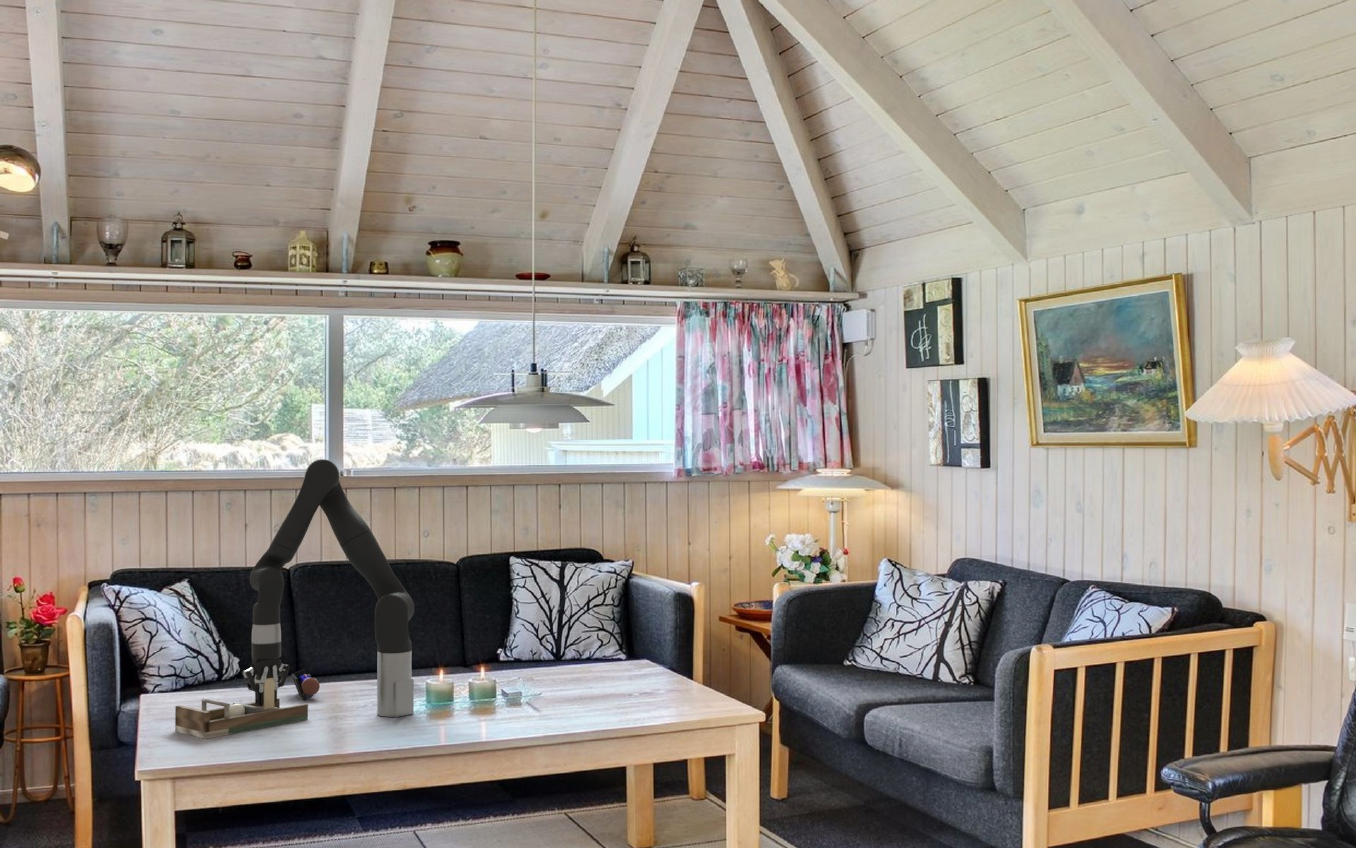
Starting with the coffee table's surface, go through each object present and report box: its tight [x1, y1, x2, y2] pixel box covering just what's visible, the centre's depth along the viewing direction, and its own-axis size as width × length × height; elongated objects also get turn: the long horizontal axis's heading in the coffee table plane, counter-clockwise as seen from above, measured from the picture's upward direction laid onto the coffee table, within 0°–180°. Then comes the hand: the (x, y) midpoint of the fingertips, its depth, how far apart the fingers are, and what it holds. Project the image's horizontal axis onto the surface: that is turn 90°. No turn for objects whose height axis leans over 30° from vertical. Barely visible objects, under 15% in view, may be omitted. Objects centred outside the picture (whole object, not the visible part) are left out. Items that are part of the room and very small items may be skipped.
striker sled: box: [232, 678, 279, 715], centre depth 331 cm, size 11×9×10 cm
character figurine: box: [290, 668, 320, 701], centre depth 367 cm, size 8×7×15 cm
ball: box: [229, 703, 245, 717], centre depth 326 cm, size 4×4×4 cm
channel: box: [174, 697, 309, 740], centre depth 327 cm, size 14×30×8 cm, turn 141°
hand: (266, 704), depth 333 cm, fingers closed on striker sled, 3 cm apart
